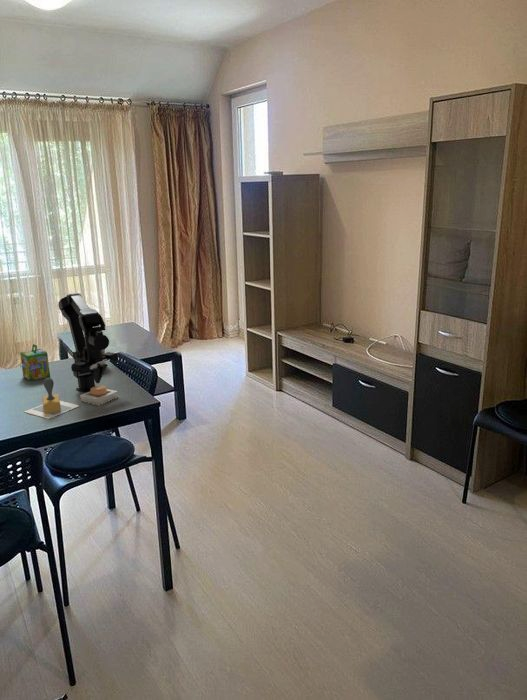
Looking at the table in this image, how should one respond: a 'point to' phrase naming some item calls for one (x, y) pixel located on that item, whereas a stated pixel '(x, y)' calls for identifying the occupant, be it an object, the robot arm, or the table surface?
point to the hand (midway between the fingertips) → (97, 383)
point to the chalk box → (35, 364)
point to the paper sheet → (40, 412)
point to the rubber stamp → (50, 398)
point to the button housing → (101, 399)
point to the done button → (98, 391)
